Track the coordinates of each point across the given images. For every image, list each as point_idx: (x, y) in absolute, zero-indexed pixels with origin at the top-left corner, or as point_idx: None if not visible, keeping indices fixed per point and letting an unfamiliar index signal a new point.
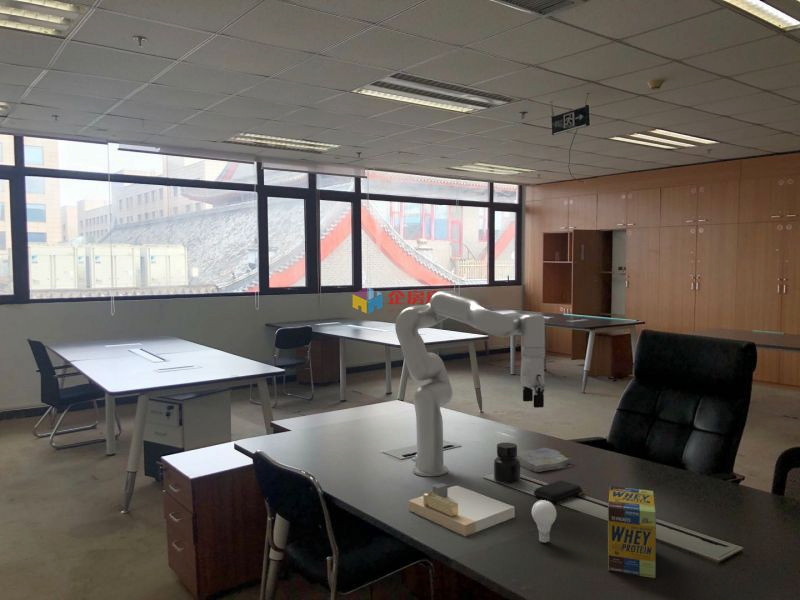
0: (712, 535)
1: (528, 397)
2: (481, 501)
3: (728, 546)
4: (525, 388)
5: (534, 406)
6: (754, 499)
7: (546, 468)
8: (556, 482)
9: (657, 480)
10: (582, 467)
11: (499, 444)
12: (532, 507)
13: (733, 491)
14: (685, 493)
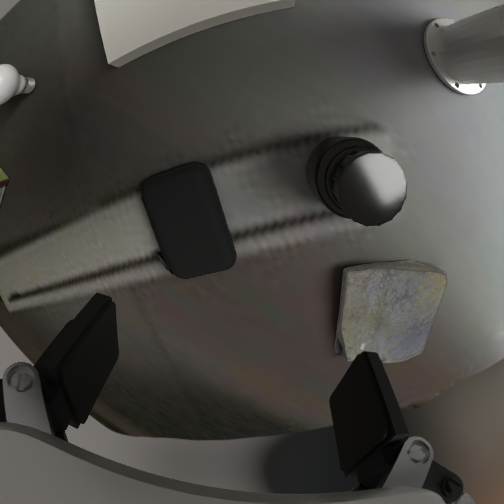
0: (26, 311)
1: (348, 401)
2: (166, 7)
3: (8, 301)
4: (390, 455)
5: (95, 297)
6: (117, 418)
7: (342, 295)
8: (214, 242)
9: (203, 403)
10: (317, 361)
11: (393, 170)
12: (1, 65)
13: (143, 424)
14: (144, 392)
